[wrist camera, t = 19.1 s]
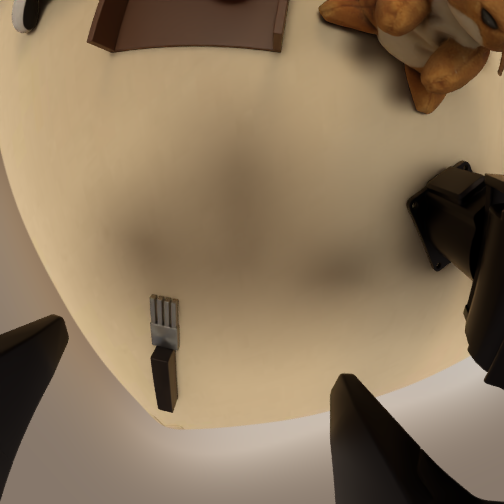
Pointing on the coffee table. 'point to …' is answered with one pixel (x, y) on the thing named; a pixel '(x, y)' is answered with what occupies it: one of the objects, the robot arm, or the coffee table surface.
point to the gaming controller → (24, 15)
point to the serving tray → (188, 24)
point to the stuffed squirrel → (429, 39)
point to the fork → (164, 350)
